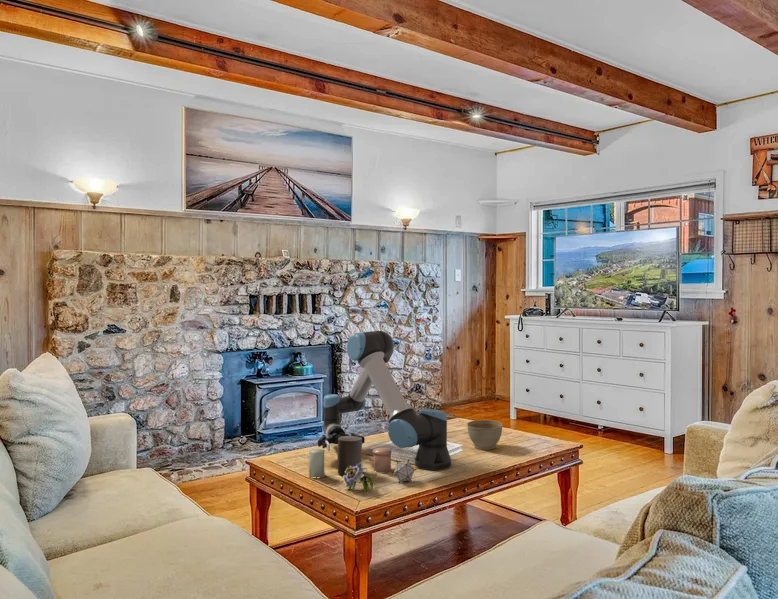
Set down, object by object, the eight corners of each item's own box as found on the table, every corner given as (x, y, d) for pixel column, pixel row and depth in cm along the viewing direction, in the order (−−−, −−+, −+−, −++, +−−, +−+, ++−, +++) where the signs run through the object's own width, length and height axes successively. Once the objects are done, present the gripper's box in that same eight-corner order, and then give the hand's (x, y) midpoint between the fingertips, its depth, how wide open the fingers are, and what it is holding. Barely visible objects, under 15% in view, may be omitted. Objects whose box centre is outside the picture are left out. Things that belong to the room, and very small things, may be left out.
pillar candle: (338, 476, 236) (338, 437, 237) (337, 469, 246) (337, 432, 246) (362, 475, 238) (362, 437, 238) (361, 468, 247) (361, 432, 247)
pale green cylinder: (327, 475, 239) (327, 450, 239) (318, 479, 234) (318, 454, 234) (315, 472, 242) (314, 448, 242) (306, 477, 237) (305, 452, 237)
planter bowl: (464, 443, 285) (464, 420, 284) (498, 442, 285) (498, 419, 285) (470, 452, 269) (470, 428, 268) (506, 452, 269) (506, 427, 269)
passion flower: (349, 504, 222) (334, 475, 226) (372, 492, 229) (357, 463, 233) (362, 494, 214) (346, 464, 218) (385, 482, 221) (369, 453, 225)
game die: (407, 492, 230) (413, 476, 224) (387, 483, 231) (392, 467, 225) (415, 474, 237) (420, 459, 231) (395, 466, 238) (400, 450, 232)
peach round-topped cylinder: (395, 468, 247) (395, 449, 247) (386, 474, 240) (385, 453, 240) (378, 465, 251) (378, 446, 250) (369, 471, 244) (369, 451, 244)
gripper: (362, 440, 274) (374, 452, 253) (308, 444, 267) (315, 458, 246) (362, 423, 273) (374, 435, 253) (307, 427, 267) (315, 439, 246)
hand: (345, 446), depth 250 cm, fingers open, 13 cm apart
